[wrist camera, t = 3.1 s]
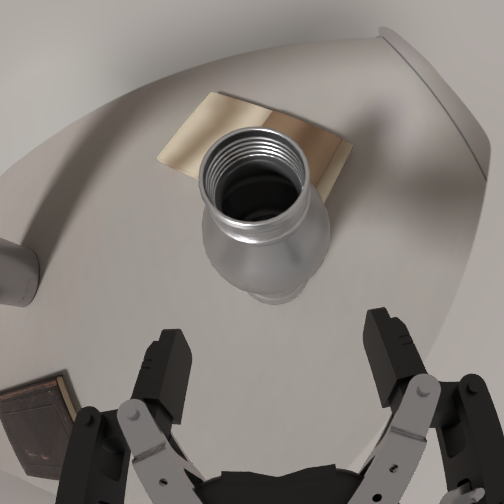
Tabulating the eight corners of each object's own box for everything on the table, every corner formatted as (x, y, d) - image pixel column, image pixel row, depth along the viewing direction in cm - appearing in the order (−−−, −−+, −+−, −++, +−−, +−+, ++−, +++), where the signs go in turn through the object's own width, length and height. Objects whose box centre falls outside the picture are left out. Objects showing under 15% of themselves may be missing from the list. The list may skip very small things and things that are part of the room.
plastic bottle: (297, 233, 28) (314, 83, 9) (315, 297, 27) (386, 247, 7) (236, 248, 29) (152, 123, 9) (251, 313, 27) (170, 301, 8)
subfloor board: (160, 162, 33) (156, 156, 31) (213, 97, 34) (211, 90, 33) (307, 234, 28) (308, 230, 27) (351, 150, 30) (353, 143, 29)
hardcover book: (113, 477, 24) (105, 483, 22) (34, 472, 24) (26, 475, 22) (64, 374, 28) (53, 375, 26) (0, 394, 28) (-9, 395, 26)
